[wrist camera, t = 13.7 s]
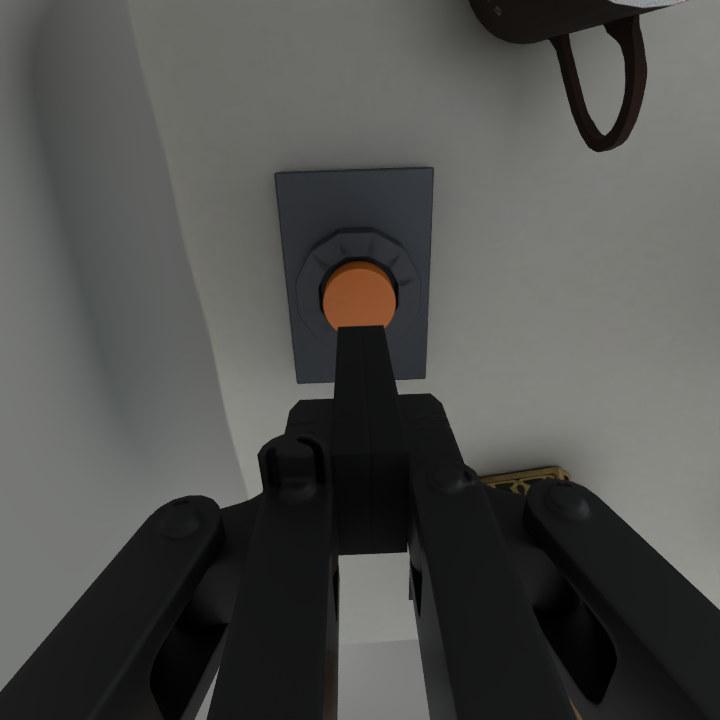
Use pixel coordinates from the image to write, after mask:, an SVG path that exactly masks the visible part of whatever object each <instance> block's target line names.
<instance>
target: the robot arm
mask: <svg viewBox="0 0 720 720" xmlns="http://www.w3.org/2000/svg"><path fill="white" fill-rule="evenodd" d="M258 461H259V467H260V473H261V479H262V484H263V492H262V493H261V494H259V495H257V496H256V497H254V498H252V499H250V500H248V501H245V502H242V503H239V504H236V505H233V506H229V507H225V508H222V509H220V508H219V506H218V504H217V503H216V502H215V501H214V500H213V499H211V498H208V497H205V496H201V495H199V496H185V497H182V498H178V499H174V500H172V501H170V502H169V503H167V504H165V505H163V506H161V507H160V508H159V509H157V510H156V511H155V512H154V513H153V514H152V515H151V516H150V517H149V518H148V519H147V520H146V521H145V522H144V524H143V525H142V526H141V527H140V528H139V529H138V530H137V532H136V533H135V534H134V535H133V537H132V538H131V539H130V540H129V541H128V542H127V544H126V545H125V546H124V547H123V548H122V550H121V551H120V552H119V553H118V554H117V555H116V557H115V558H114V559H113V560H112V561H111V562H110V563H109V565H108V566H107V567H106V568H105V569H104V571H103V572H102V573H101V574H100V575H99V576H98V578H97V579H96V580H95V581H94V582H93V583H92V585H91V586H90V587H89V588H88V589H87V591H86V592H85V593H84V594H83V595H82V596H81V598H80V599H79V600H78V601H77V602H76V603H75V605H74V606H73V607H72V608H71V609H70V611H69V612H68V613H67V614H66V615H65V617H64V618H63V619H62V620H61V621H60V622H59V624H58V625H57V626H56V627H55V628H54V629H53V631H52V632H51V633H50V634H49V636H47V638H46V639H45V640H44V641H43V642H42V644H41V645H40V646H39V647H38V648H37V649H36V651H35V652H34V653H33V654H32V655H31V656H30V658H29V659H28V660H27V661H26V663H25V664H24V665H23V666H22V667H21V668H20V669H19V671H18V672H17V673H16V674H15V675H14V677H13V678H12V679H11V680H10V681H9V682H8V684H7V685H6V686H5V687H4V688H3V689H2V691H1V692H0V720H195V717H196V715H197V713H198V711H199V708H200V707H201V705H202V702H203V700H204V698H205V696H206V694H207V692H208V690H209V687H210V685H211V683H212V681H213V679H214V677H215V675H216V673H217V670H218V668H219V672H218V676H217V679H216V684H215V688H214V692H213V696H212V700H211V704H210V708H209V712H208V716H207V720H337V705H338V703H337V702H338V645H339V582H340V578H339V565H338V555H357V554H379V553H402V552H407V545H408V547H409V554H410V577H409V600H413V603H414V610H415V617H416V624H417V631H418V638H419V644H420V652H421V659H422V666H423V673H424V679H425V686H426V694H427V701H428V708H429V715H430V720H577V717H576V715H575V712H574V710H573V707H572V705H571V702H572V704H573V705H574V707H575V709H576V710H577V712H578V713H579V715H580V717H581V718H582V720H720V610H719V609H718V608H717V607H716V606H715V605H714V604H713V603H712V602H711V601H710V600H708V599H707V598H706V597H705V596H704V595H703V594H702V593H701V592H700V591H699V590H698V589H697V588H696V587H694V586H693V585H692V584H691V583H690V582H689V581H688V580H687V579H686V578H685V577H684V576H683V575H682V574H681V573H679V572H678V571H677V570H676V569H675V568H674V567H673V566H672V565H671V564H670V563H669V562H668V561H667V560H666V559H664V558H663V557H662V556H661V555H660V554H659V553H658V552H657V551H656V550H655V549H654V548H653V547H652V546H650V545H649V544H648V543H647V542H646V541H645V540H644V539H643V538H642V537H641V536H640V535H639V534H638V533H637V532H635V531H634V530H633V529H632V528H631V527H630V526H629V525H628V524H627V523H626V522H625V521H624V520H623V519H622V518H620V517H619V516H618V515H617V514H616V513H615V512H614V511H613V510H612V509H611V508H610V507H609V506H608V505H606V504H605V503H604V502H603V501H602V500H601V499H600V498H599V497H598V496H597V495H595V494H594V493H592V492H591V491H590V490H588V489H587V488H585V487H584V486H581V485H579V484H576V483H574V482H572V481H568V480H562V479H557V478H552V479H542V480H539V481H537V482H535V483H533V484H532V485H531V486H530V488H529V489H528V490H527V493H526V495H525V494H520V493H515V492H510V491H505V490H501V489H497V488H493V487H491V486H489V485H486V484H484V483H482V481H481V479H480V478H479V476H478V475H477V474H476V472H475V471H474V470H473V469H471V468H470V467H468V466H467V465H465V464H464V461H463V458H462V456H461V453H460V451H459V448H458V445H457V443H456V440H455V437H454V435H453V432H452V429H451V428H450V424H449V421H448V419H447V418H446V413H445V411H444V408H443V405H442V403H441V402H440V401H439V400H437V399H436V398H435V397H434V396H433V395H432V394H430V393H429V394H404V395H398V392H397V387H396V382H395V378H394V373H393V368H392V363H391V358H390V354H389V349H388V344H387V339H386V334H385V330H384V325H370V326H344V327H338V334H337V352H336V369H335V387H334V399H313V400H299V401H298V402H297V404H296V405H295V406H294V407H293V408H292V409H291V410H290V412H289V416H288V421H287V426H286V430H285V434H283V435H281V436H278V437H276V438H273V439H271V440H270V441H269V442H268V443H266V444H265V445H264V446H262V448H261V450H260V452H259V453H258ZM219 666H220V667H219ZM569 699H570V700H569ZM570 701H571V702H570Z"/></svg>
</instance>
